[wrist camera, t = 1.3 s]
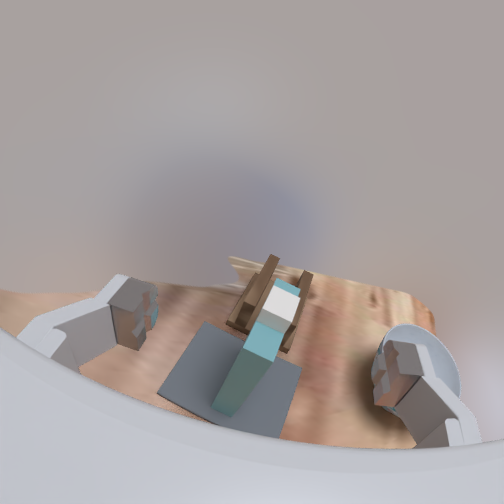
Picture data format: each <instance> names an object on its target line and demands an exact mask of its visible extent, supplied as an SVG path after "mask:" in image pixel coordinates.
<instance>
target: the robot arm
mask: <svg viewBox="0 0 504 504" xmlns="http://www.w3.org/2000/svg"><path fill="white" fill-rule="evenodd" d="M157 296H158V288H157V286H156V285H153V284H150V283H147V282H144V281H141V280H138V279H135V278H132V277H128V276H125V275H122V274H117V275H115V276H114V277H113V278H112V279H111V281H110V282H109V283H108V284H107V285H106V286H105V287H104V288H103V289H102V290H101V291H100V292H99V293H98V294H97V296H96V297H95V298H94V299H93V298H88V299H85V300H82V301H79V302H76V303H73V304H70V305H67V306H64V307H62V308H59V309H56V310H53V311H50V312H47V313H44V314H41V315H38V316H36V317H35V318H34V319H33V320H32V321H31V322H30V323H29V324H28V325H27V326H26V327H25V328H24V329H23V331H22V332H21V333H20V334H19V335H18V336H17V337H14V336H13V335H11V334H9V333H8V332H6V331H5V330H3V329H2V328H1V327H0V504H504V439H501V440H495V441H490V442H483V443H482V439H481V436H480V432H479V428H478V424H477V420H476V417H475V416H474V415H473V414H472V413H471V412H470V410H469V409H468V408H467V407H466V406H465V405H464V404H463V403H462V402H461V400H460V399H459V398H458V397H457V396H456V395H455V394H454V393H453V392H452V391H451V390H450V389H449V388H448V386H447V385H446V384H445V383H444V382H443V381H442V380H441V379H440V378H436V375H435V372H434V368H433V365H432V362H431V359H430V356H429V353H428V350H427V347H426V346H425V345H424V344H416V343H407V342H401V341H394V340H388V341H387V342H386V343H385V345H384V346H383V351H384V352H383V353H381V354H380V355H378V356H377V357H376V359H375V361H374V362H373V366H372V370H371V378H372V381H373V382H374V384H375V385H376V387H375V388H374V389H373V395H374V404H375V405H379V406H388V407H395V410H396V412H397V413H398V415H399V416H400V418H401V420H402V421H403V423H404V424H405V426H406V427H407V429H408V431H409V432H410V434H411V436H412V437H413V439H414V440H415V442H416V444H417V445H416V446H415V447H414V448H412V449H372V448H352V447H339V446H328V445H319V444H311V443H303V442H296V441H290V440H284V439H278V438H272V437H267V436H262V435H257V434H252V433H247V432H243V431H238V430H234V429H230V428H226V427H222V426H218V425H214V424H211V423H207V422H204V421H200V420H197V419H193V418H190V417H187V416H183V415H180V414H177V413H174V412H171V411H168V410H165V409H162V408H160V407H157V406H154V405H151V404H148V403H146V402H143V401H141V400H138V399H135V398H133V397H130V396H128V395H125V394H123V393H121V392H118V391H116V390H114V389H111V388H109V387H107V386H104V385H102V384H100V383H98V382H96V381H93V380H91V379H89V378H87V377H85V376H83V375H81V373H80V371H79V368H78V367H79V366H81V365H83V364H84V363H86V362H88V361H90V360H92V359H93V358H95V357H97V356H99V355H100V354H102V353H104V352H106V351H107V350H109V349H111V348H113V347H114V346H116V345H117V344H119V345H122V346H125V347H128V348H130V349H133V350H136V351H139V349H140V348H141V346H142V344H143V343H144V341H145V340H146V332H147V331H150V330H152V328H153V326H154V325H155V322H156V319H157V316H158V304H157V302H156V301H155V299H156V297H157Z"/></svg>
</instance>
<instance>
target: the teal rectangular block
mask: <svg viewBox="0 0 504 504" xmlns="http://www.w3.org/2000/svg"><path fill="white" fill-rule="evenodd" d="M300 290H301V289H299V288H297V287H295V286H293V285H291V284H289V283H286V282H284V281H282V280H280V279H278V278H277V279H276V281H275V283H274V285H273V287H272V289H271V291H270V293H269V295H268V297H267V299H266V301H265V303H264V305H263V307H262V309H261V311H260V313H259V315H258V317H257V319H256V321H255V323H254V325H253V327H252V329H251V330H250V332H249V334H248V336H247V338H246V340H245V342H244V344H243V346H242V348H241V350H240V352H239V354H238V356H237V358H236V360H235V362H234V364H233V365H232V367H231V369H230V371H229V373H228V375H227V377H226V379H225V381H224V383H223V385H222V387H221V389H220V391H219V392H218V394H217V396H216V398H215V400H214V402H213V404H212V406H211V408H213V409H215V410H217V411H219V412H221V413H223V414H225V415H227V416H229V417H232V416H233V415H234V414H235V412H236V411H237V410H238V409H239V407H240V406H241V405H242V403H243V402H244V401H245V400H246V398H247V397H248V396H249V394H250V393H251V392H252V390H253V389H254V388H255V386H256V385H257V384H258V382H259V381H260V380H261V378H262V377H263V376H264V374H265V373H266V372H267V370H268V369H269V368H270V366H271V365H272V363H273V362H274V359H275V357H276V354H277V352H278V349H279V346H280V344H281V341H282V339H283V336H284V334H285V332H286V331H287V329H288V328H289V326H290V324H291V323H292V321H293V318H294V315H295V312H296V309H297V307H298V304H299V301H300V298H299V297H298V295H299V292H300Z"/></svg>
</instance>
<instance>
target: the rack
mask: <svg viewBox="0 0 504 504" xmlns="http://www.w3.org/2000/svg"><path fill="white" fill-rule="evenodd" d="M279 259H280V258H278V257H276V256H274V255H272V254H271V255H270V256H269V258H268V260H267V261H266V263H265V265H264V267H263V269H262V270H261V272H260V274H257V273H255V274H254V276H253V278H252V279H251V281H250V283H249V284H248V286H247V288H246V290H245V291H244V293H243V295H242V296H241V298H240V300H239V301H238V303H237V305H236V306H235V308H234V310H233V312H232V313H231V315H230V317H229V318H228V320H227V323H226V324H227V325H229V326H231V327H233V328H235V329H237V330H239V331H241V332H243V333H245V334H247V335H248V334H249V332H250V330H251V329H252V327H253V325H254V323H255V321H256V319H257V317H258V315H259V313H260V311H261V309H262V307H263V305H264V303H265V301H266V299H267V297H268V295H269V293H270V291H271V289H272V287H273V285H274V283H275V282H274V281H272V280H270V278H271V276H272V274H273V272H274V270H275V268H276V266H277V263H278V261H279ZM312 278H313V274H311V273H309V272H307V271H305V270H304V272H303V274H302V275H301V277H300V279H299V281H298V283H297V284H296V286H295V287H297V288H299V289H301V290H300V292H299V295H298V297H299V298H300V301H299V304H298V307H297V309H296V312H295V315H294V318H293V321H292V323H291V324H290V326H289V328H288V329H287V331H286V332H285V334H284V336H283V339H282V341H281V344H280V346H279V349H278V350H280V351H283V352H285V353H288V351H289V350H290V348H291V345H292V342H293V339H294V336H295V333H296V330H297V327H298V324H299V321H300V318H301V315H302V312H303V309H304V306H305V303H306V300H307V293H308V290H309V287H310V284H311V281H312Z"/></svg>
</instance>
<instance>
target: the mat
mask: <svg viewBox="0 0 504 504" xmlns="http://www.w3.org/2000/svg"><path fill="white" fill-rule="evenodd" d="M244 342H245V341H243V340H241V339H239V338H237V337H235V336H233V335H231V334H229V333H227V332H225V331H223V330H221V329H219V328H217V327H215V326H213V325H211V324H209V323H207V322H206V321H205V322H204V323H203V325H202V326H201V328H200V329H199V331H198V332H197V334H196V335H195V337H194V338H193V340H192V341H191V343H190V344H189V346H188V347H187V349H186V350H185V352H184V353H183V355H182V356H181V358H180V359H179V361H178V362H177V364H176V365H175V367H174V368H173V370H172V371H171V373H170V374H169V376H168V377H167V379H166V380H165V382H164V383H163V385H162V386H161V388H160V389H159V391H158V392H157V394H159V395H160V396H162V397H164V398H165V399H167V400H169V401H171V402H172V403H174V404H176V405H178V406H180V407H182V408H183V409H185V410H187V411H189V412H191V413H193V414H195V415H197V416H199V417H201V418H203V419H205V420H207V421H209V422H211V423H213V424H215V425H218V426H222V427H226V428H230V429H234V430H238V431H243V432H247V433H252V434H257V435H262V436H267V437H272V438H278V439H279V436H280V433H281V430H282V428H283V425H284V422H285V419H286V416H287V413H288V410H289V407H290V404H291V401H292V398H293V395H294V392H295V389H296V386H297V383H298V380H299V377H300V373H301V370H302V368H301V367H299V366H296V365H294V364H292V363H290V362H287V361H285V360H283V359H281V358H279V357H277V356H276V357H275V359H274V362H273V363H272V365H271V366H270V368H269V369H268V370H267V372H266V373H265V374H264V376H263V377H262V378H261V380H260V381H259V382H258V384H257V385H256V386H255V388H254V389H253V390H252V392H251V393H250V394H249V396H248V397H247V398H246V400H245V401H244V402H243V403H242V405H241V406H240V407H239V409H238V410H237V411H236V412H235V414H234V415H233V416H232V417H229V416H227V415H225V414H223V413H221V412H219V411H217V410H215V409H213V408H211V406H212V404H213V402H214V400H215V398H216V396H217V394H218V392H219V391H220V389H221V387H222V385H223V383H224V381H225V379H226V377H227V375H228V373H229V371H230V369H231V367H232V365H233V364H234V362H235V360H236V358H237V356H238V354H239V352H240V350H241V348H242V346H243V344H244Z"/></svg>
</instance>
